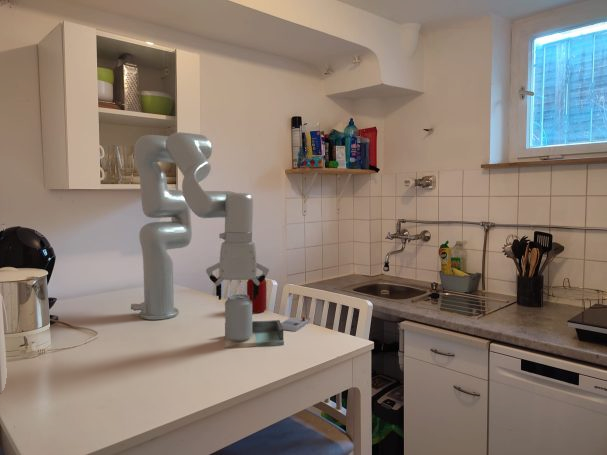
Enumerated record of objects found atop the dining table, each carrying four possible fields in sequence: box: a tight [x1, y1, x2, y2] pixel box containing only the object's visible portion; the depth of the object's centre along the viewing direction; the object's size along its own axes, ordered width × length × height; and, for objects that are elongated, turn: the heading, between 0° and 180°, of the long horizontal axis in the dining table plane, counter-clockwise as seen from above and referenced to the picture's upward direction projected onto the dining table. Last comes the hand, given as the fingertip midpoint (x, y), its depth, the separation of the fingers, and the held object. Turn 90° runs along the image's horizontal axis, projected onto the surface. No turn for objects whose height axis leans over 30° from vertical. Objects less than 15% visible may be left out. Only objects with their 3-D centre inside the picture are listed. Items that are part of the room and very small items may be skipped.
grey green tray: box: [224, 319, 285, 349], centre depth 126 cm, size 16×10×4 cm, turn 100°
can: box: [224, 293, 253, 341], centre depth 125 cm, size 8×8×12 cm
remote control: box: [281, 316, 311, 333], centre depth 141 cm, size 7×16×3 cm, turn 155°
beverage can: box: [246, 275, 267, 314], centre depth 157 cm, size 7×7×12 cm
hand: (237, 298), depth 125 cm, fingers open, 9 cm apart
